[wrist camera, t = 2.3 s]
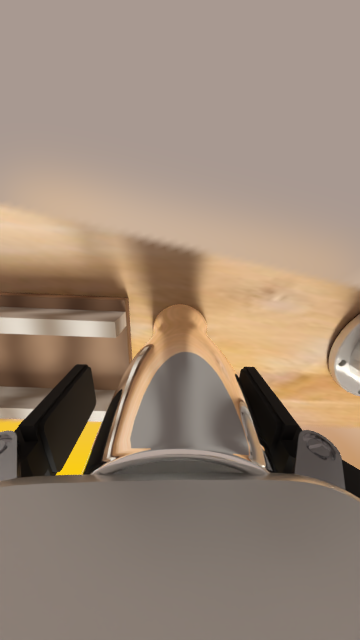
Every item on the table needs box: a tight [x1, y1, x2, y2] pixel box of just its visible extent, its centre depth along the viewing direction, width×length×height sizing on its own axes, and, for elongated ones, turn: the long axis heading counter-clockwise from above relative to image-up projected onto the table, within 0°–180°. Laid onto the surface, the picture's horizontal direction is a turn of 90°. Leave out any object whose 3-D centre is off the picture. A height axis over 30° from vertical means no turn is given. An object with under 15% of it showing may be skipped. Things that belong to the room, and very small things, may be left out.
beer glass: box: [82, 304, 279, 475], centre depth 12 cm, size 7×7×15 cm
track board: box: [0, 292, 132, 422], centre depth 18 cm, size 24×14×4 cm, turn 88°
